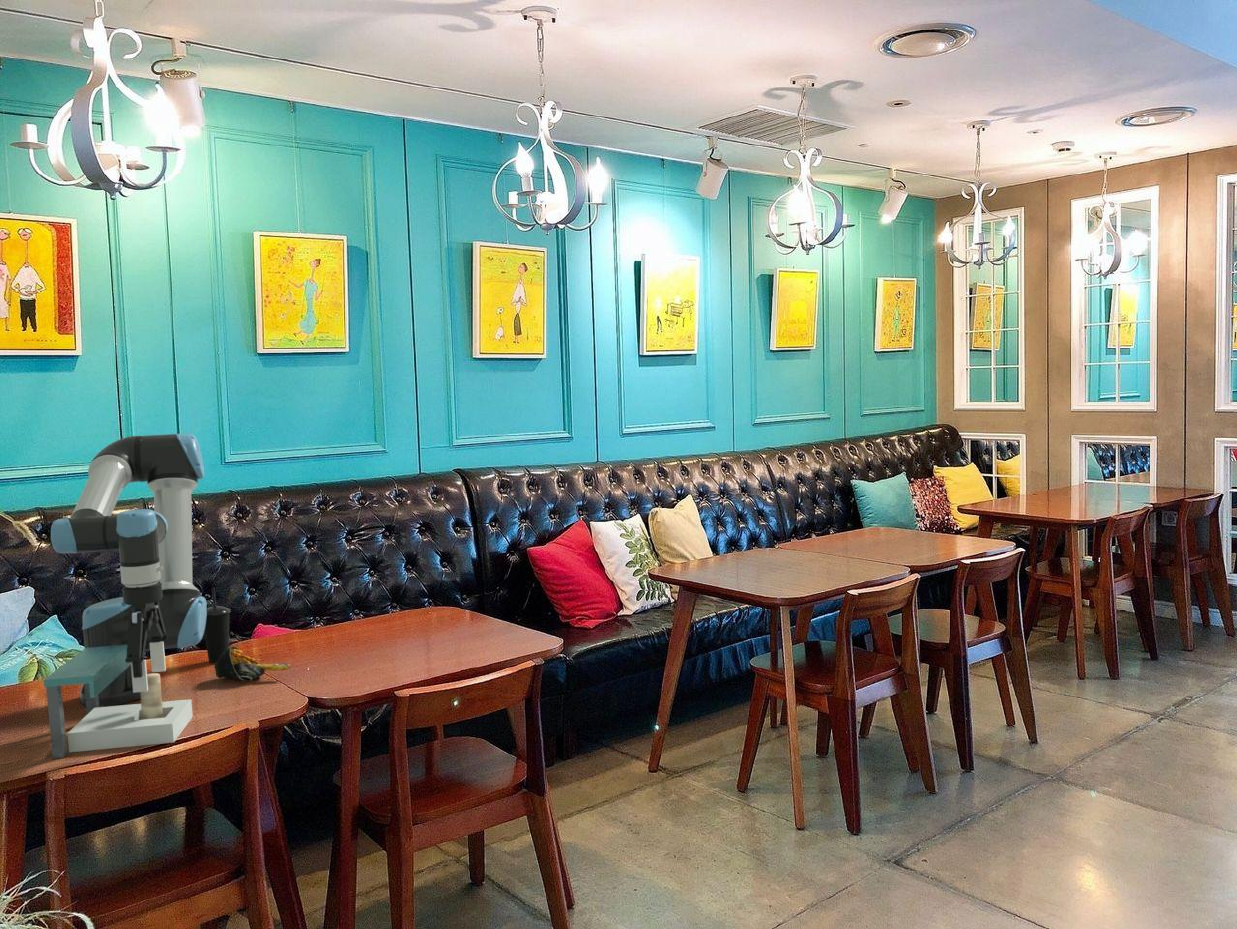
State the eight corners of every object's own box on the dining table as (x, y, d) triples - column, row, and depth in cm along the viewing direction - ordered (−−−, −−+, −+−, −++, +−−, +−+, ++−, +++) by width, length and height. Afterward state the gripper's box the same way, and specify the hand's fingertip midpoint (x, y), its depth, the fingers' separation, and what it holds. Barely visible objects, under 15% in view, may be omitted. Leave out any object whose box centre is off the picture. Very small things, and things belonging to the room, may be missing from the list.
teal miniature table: (92, 720, 219) (86, 647, 217) (135, 716, 220) (129, 644, 219) (50, 760, 195) (43, 679, 194) (99, 756, 197) (92, 675, 196)
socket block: (95, 725, 215) (94, 707, 215) (192, 716, 219) (191, 699, 219) (69, 752, 200) (67, 733, 199) (173, 742, 203) (172, 723, 203)
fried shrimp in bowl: (219, 655, 252) (286, 629, 253) (230, 696, 248) (298, 670, 250) (203, 651, 243) (273, 624, 244) (215, 694, 240) (285, 666, 241)
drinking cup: (197, 665, 260) (191, 590, 258) (213, 657, 268) (208, 584, 266) (223, 665, 259) (218, 590, 257) (239, 657, 266) (234, 584, 265)
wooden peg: (146, 728, 211) (142, 674, 210) (166, 727, 212) (162, 672, 211) (140, 735, 208) (136, 679, 206) (161, 733, 208) (156, 678, 207)
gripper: (143, 595, 196) (152, 699, 198) (176, 569, 220) (183, 662, 222) (103, 598, 194) (112, 702, 197) (140, 572, 219) (148, 664, 221)
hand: (150, 681), depth 209 cm, fingers open, 13 cm apart
